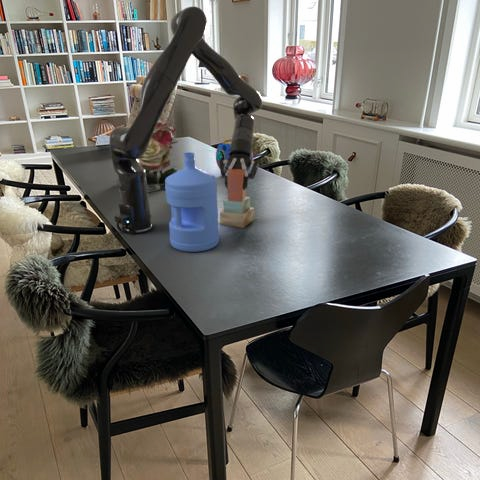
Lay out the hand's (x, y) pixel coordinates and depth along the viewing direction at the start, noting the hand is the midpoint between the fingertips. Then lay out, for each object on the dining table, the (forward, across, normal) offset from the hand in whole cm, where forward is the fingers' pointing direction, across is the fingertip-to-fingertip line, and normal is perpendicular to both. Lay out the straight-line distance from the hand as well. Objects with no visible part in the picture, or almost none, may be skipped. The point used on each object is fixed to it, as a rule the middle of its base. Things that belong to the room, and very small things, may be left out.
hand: (235, 187), depth 165 cm
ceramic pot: (-39, -15, +57) cm, 71 cm away
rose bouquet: (-22, -47, +40) cm, 66 cm away
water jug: (+24, -9, -6) cm, 26 cm away
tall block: (+2, 0, +4) cm, 5 cm away
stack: (+8, 0, +10) cm, 13 cm away
